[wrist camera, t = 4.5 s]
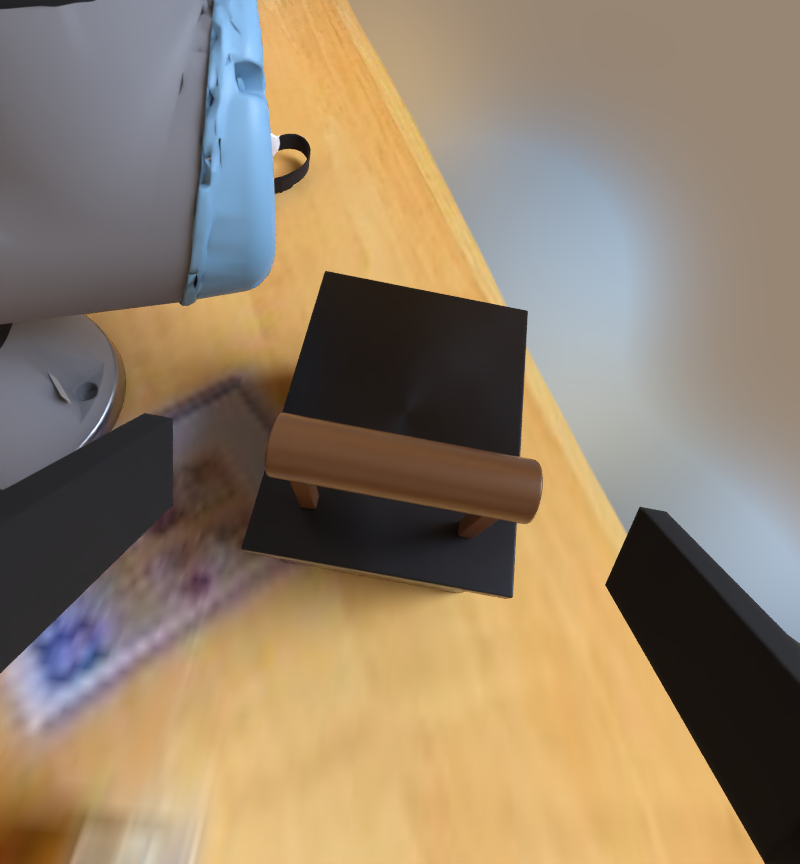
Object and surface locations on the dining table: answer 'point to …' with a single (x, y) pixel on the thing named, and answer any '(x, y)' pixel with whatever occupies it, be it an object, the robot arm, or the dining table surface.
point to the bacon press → (401, 440)
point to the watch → (290, 143)
